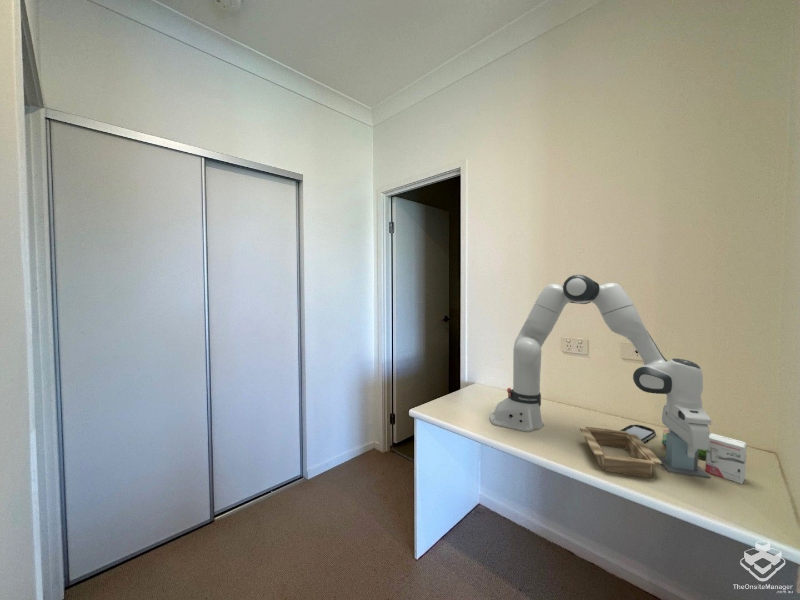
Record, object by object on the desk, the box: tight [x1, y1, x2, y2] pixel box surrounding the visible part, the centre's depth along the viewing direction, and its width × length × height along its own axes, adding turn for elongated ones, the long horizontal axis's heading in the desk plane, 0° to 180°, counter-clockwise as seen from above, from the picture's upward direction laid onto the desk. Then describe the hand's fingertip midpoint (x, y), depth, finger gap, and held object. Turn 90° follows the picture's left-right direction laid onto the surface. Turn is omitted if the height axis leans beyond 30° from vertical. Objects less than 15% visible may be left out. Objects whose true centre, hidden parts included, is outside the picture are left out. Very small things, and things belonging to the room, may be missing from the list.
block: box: [665, 433, 699, 471], centre depth 106 cm, size 7×4×10 cm, turn 73°
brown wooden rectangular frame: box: [579, 426, 662, 479], centre depth 112 cm, size 24×19×6 cm
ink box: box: [705, 433, 747, 484], centre depth 102 cm, size 9×5×12 cm, turn 38°
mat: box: [656, 456, 711, 479], centre depth 106 cm, size 11×9×1 cm
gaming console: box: [619, 424, 657, 444], centre depth 129 cm, size 19×9×2 cm, turn 123°
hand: (681, 449), depth 106 cm, fingers open, 8 cm apart
